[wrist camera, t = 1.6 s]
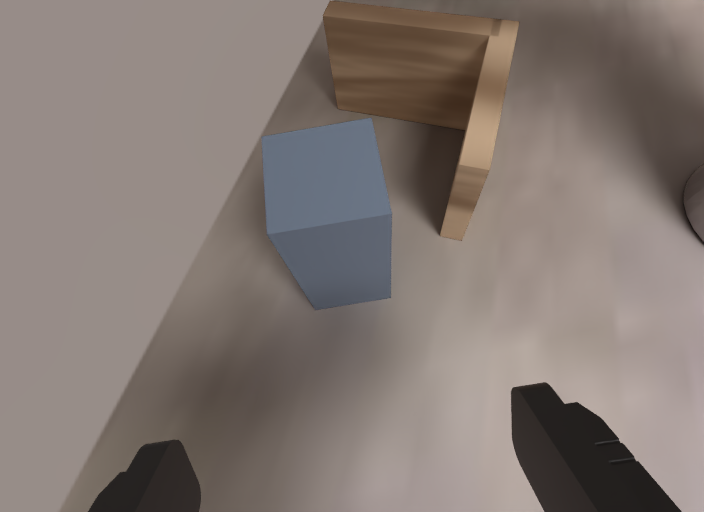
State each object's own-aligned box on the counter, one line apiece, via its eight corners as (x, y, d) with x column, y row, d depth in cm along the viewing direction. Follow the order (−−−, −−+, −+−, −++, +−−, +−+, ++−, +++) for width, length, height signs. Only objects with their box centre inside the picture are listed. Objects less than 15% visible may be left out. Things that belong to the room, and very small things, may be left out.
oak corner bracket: (461, 240, 26) (489, 170, 19) (299, 204, 29) (268, 128, 21) (488, 118, 30) (519, 21, 23) (343, 95, 33) (330, 0, 25)
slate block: (377, 230, 27) (371, 117, 17) (390, 297, 25) (391, 213, 15) (308, 242, 27) (261, 136, 17) (315, 310, 25) (266, 234, 15)
